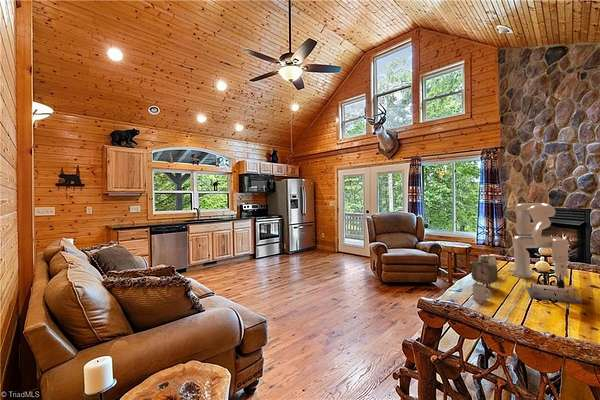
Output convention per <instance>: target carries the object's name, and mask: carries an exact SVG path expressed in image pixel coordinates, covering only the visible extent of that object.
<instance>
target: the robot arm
mask: <svg viewBox="0 0 600 400" xmlns="http://www.w3.org/2000/svg"><path fill="white" fill-rule="evenodd" d="M514 212H515V215H516V222H515V232H516V234H518V235H516V236H513V238H512V240H511V241H512V245H513V253H514V254H513V255H514V268H513V269H510V268H509V269H507V272H509V273H512V275H513V276H515V277H516V278H523V279H526V278H528V279H529V278H533V277H534V275H533V274H531V259H530V252H529V251H528V250H527V249H533V248H534V249H537V248H539V249H551V260H552V261H553V263H554V266H553V267H554V268H553V269H554V274H555V276H556V286H557V287H558V288H565V278H566V279H568V278H569V270H568V264H567V263H568V262H569V243H568V242H569V241H568V240H567V239H565V238H562V237H560V236H542V233H543V231H542V230H544V229H547V228H550V227H551V224H552V222H551V220H550V219H549V218H551V217H552V218H553V217H555V214H556V209H555V207H554V206H552V205H551V204H547V203H544V202H529V203H528V202H526V203H518V204H516V205H515V208H514ZM531 219H532V222H531Z"/></svg>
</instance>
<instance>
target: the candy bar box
mask: <svg viewBox="0 0 600 400" xmlns="http://www.w3.org/2000/svg"><path fill="white" fill-rule="evenodd" d="M480 255H481V256H482V257H483V256H485V257H488V255H489V257H488V258H486V259H487V260H488V262H491V263H494V264H496V265H497V255H495V254H488V255H487V254H480ZM480 255H479V254H478V261H480V260H481V259H482V257H480Z"/></svg>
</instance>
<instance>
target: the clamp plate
mask: <svg viewBox="0 0 600 400" xmlns="http://www.w3.org/2000/svg"><path fill="white" fill-rule="evenodd" d="M532 284H534V283H532V282H531V283H530V286H527V287H526V291H527V293H528V295H529V298H530V299H537V298H538V299H537V300H545V301H546V300H547V301H550V300H549V299H553V300H557V301H556V302H561V303H569V304H578V305H583V300H582V299H581V298H580V297H579V296H578V295H577V293H576V292H575V291H573V289H568V291H564V290H553V289H547V290H544V289H541V288H538V287H536V286H532ZM535 284H536V285H538V284H537V283H535ZM564 286H565V287H569V286H570V285H567V284H566V285H565V284H564ZM554 293H555V294H556V296H555V295H554ZM553 300H552V301H553Z"/></svg>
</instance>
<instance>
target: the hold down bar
mask: <svg viewBox="0 0 600 400" xmlns="http://www.w3.org/2000/svg"><path fill="white" fill-rule="evenodd" d="M536 284H537V283H533V284H532V286H536V287H538V288H540V289H549V290H559V291H568V289H573V291H574V292H575V293H576V292H577V293H578V292H579V289H578V288H577V287H576V286H571V285H568V286H569V287H565V288H558V287H557V285H547V284H537V285H536Z"/></svg>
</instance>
